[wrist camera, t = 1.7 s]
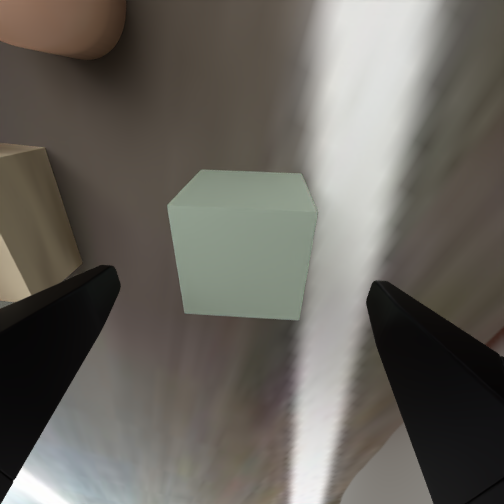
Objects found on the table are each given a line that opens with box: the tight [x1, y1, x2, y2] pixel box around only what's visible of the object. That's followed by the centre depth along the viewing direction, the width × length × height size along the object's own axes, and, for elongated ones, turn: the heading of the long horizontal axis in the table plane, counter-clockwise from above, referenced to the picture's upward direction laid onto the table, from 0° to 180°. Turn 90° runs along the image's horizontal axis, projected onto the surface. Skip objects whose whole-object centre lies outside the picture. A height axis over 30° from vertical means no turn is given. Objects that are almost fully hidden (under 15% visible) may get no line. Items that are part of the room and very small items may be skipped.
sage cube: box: [167, 170, 318, 320], centre depth 12 cm, size 5×5×5 cm
